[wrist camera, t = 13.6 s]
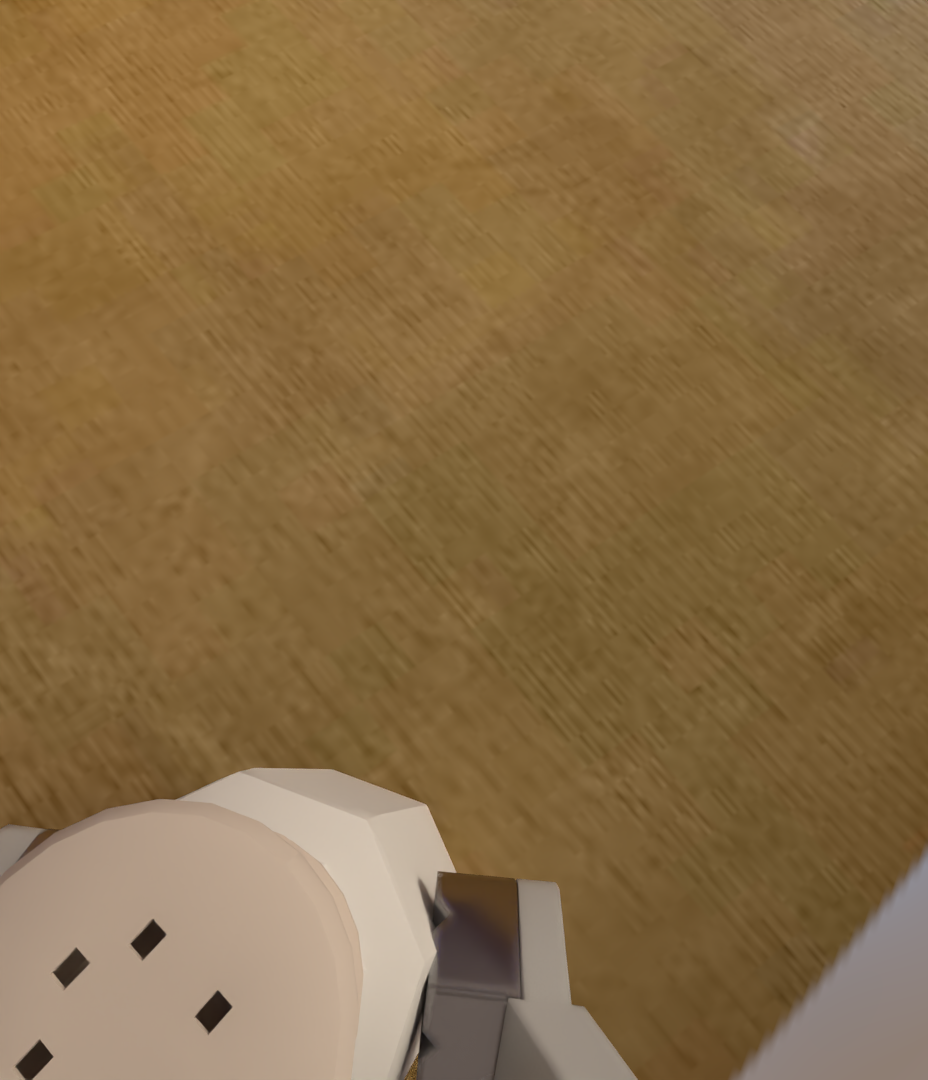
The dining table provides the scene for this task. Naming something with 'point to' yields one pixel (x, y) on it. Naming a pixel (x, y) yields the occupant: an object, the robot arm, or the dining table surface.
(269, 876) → the pepper shaker
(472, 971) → the robot arm
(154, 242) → the dining table surface
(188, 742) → the dining table surface
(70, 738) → the dining table surface
